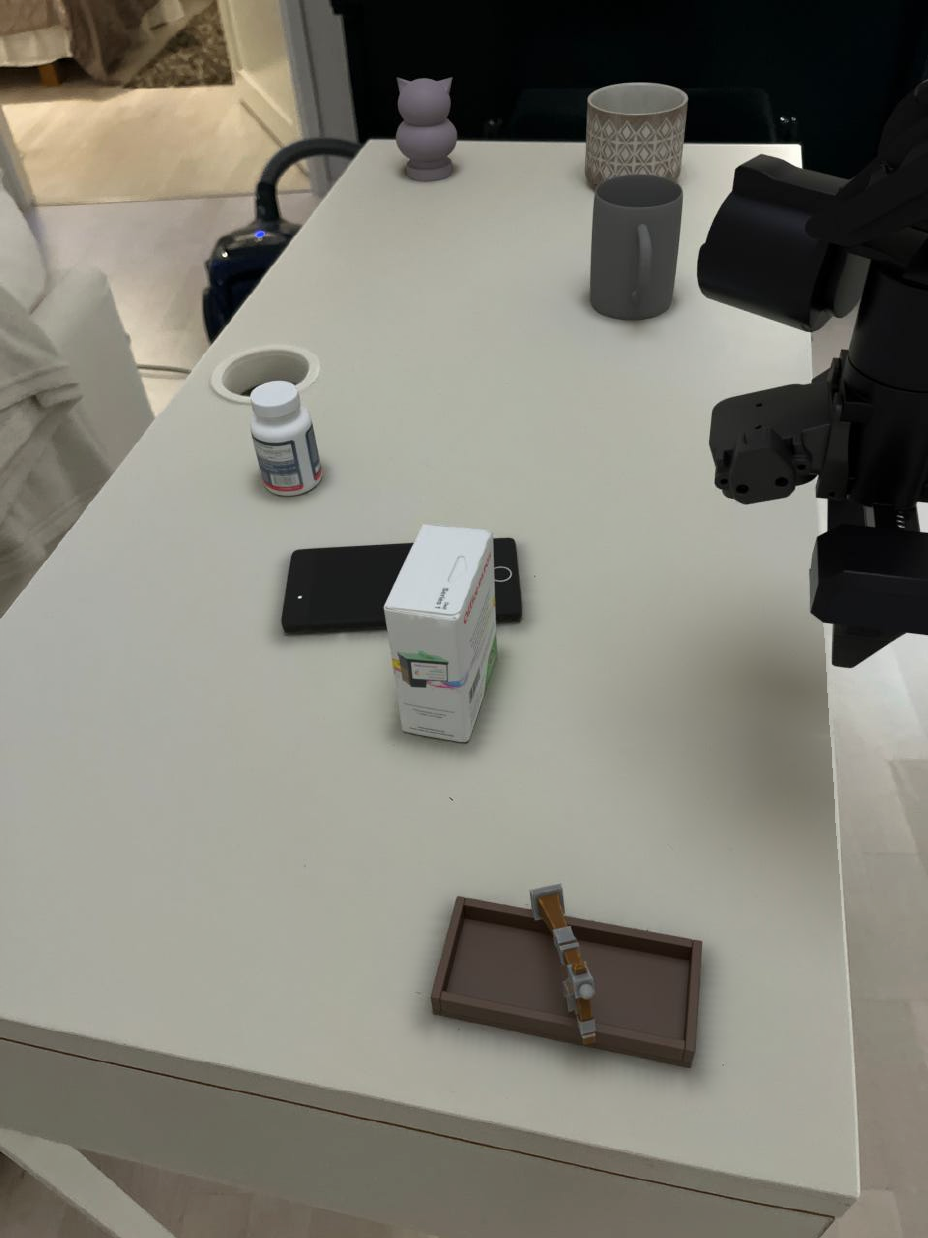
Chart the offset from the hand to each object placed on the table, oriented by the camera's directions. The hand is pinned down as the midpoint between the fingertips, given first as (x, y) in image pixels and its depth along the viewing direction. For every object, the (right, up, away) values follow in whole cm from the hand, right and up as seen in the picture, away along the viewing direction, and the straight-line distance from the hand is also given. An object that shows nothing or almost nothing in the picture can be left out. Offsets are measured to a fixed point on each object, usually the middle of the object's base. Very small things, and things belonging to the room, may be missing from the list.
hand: (838, 606), depth 56 cm
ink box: (-22, -6, +13) cm, 26 cm away
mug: (-3, +33, +51) cm, 61 cm away
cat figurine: (-26, +62, +83) cm, 107 cm away
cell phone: (-26, +2, +21) cm, 33 cm away
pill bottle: (-36, +12, +32) cm, 50 cm away
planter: (+1, +58, +77) cm, 96 cm away
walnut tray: (-16, -20, -3) cm, 26 cm away
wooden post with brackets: (-16, -19, -4) cm, 25 cm away
